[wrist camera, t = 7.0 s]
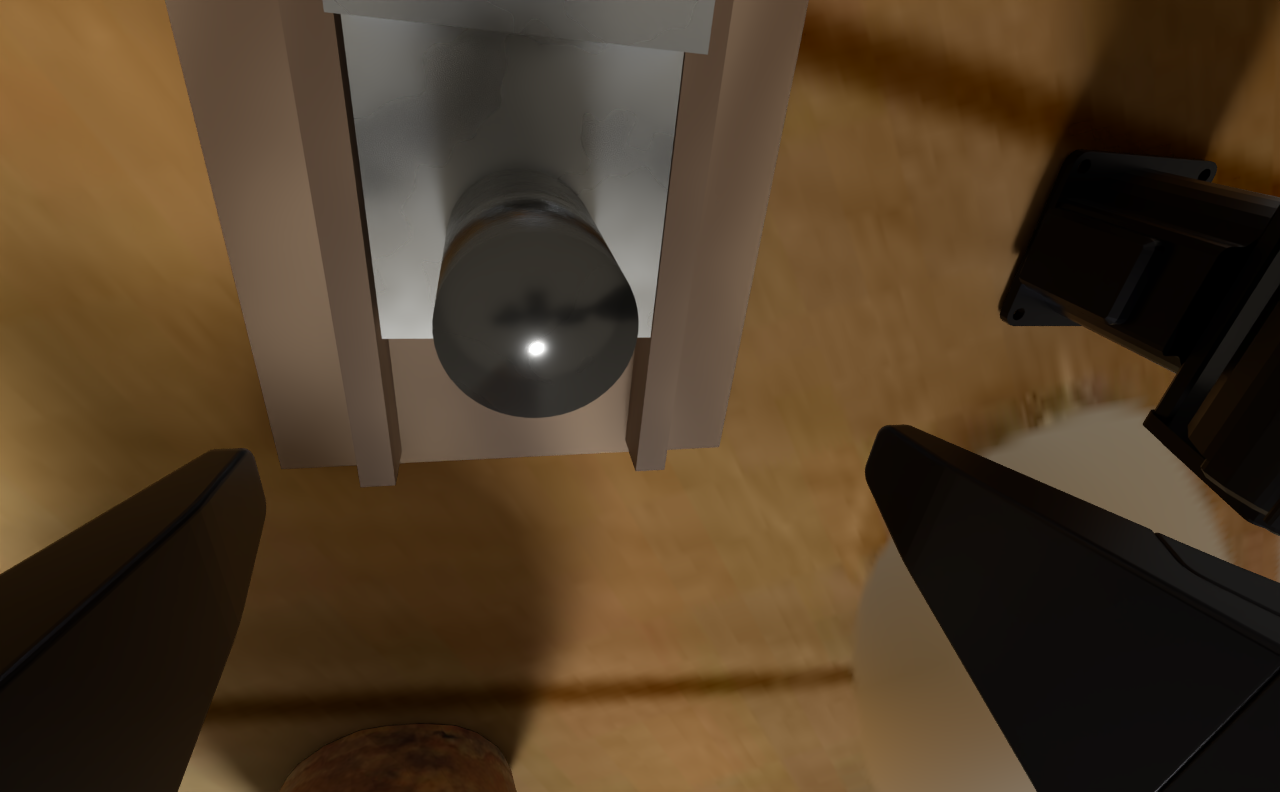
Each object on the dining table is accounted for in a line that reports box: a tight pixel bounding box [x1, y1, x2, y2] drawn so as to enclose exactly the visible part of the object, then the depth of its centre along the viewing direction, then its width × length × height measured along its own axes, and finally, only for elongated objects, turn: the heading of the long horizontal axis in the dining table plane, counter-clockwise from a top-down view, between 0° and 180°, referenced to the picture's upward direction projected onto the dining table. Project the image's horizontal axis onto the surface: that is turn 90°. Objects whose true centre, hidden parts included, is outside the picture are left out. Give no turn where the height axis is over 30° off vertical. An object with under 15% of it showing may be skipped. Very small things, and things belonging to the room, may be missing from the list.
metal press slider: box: [322, 0, 715, 418], centre depth 13 cm, size 7×8×7 cm
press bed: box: [165, 0, 809, 487], centre depth 17 cm, size 15×16×3 cm
